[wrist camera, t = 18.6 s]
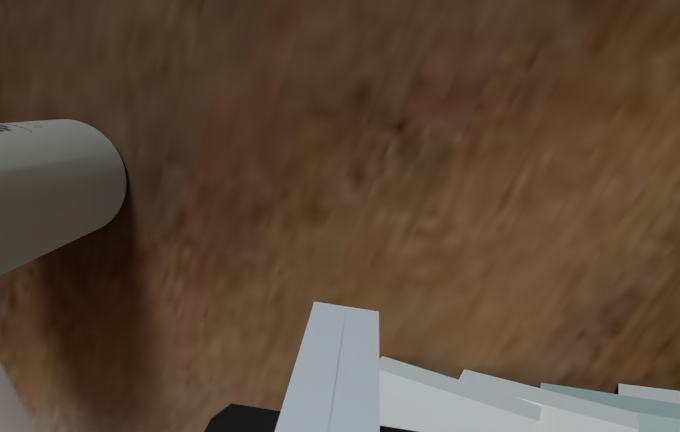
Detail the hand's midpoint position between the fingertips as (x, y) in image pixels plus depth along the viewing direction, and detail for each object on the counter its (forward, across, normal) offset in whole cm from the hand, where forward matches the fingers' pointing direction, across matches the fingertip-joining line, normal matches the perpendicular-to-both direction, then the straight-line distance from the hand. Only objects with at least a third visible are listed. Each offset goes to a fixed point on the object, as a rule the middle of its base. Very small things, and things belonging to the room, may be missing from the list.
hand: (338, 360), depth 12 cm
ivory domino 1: (+23, +3, -14) cm, 28 cm away
